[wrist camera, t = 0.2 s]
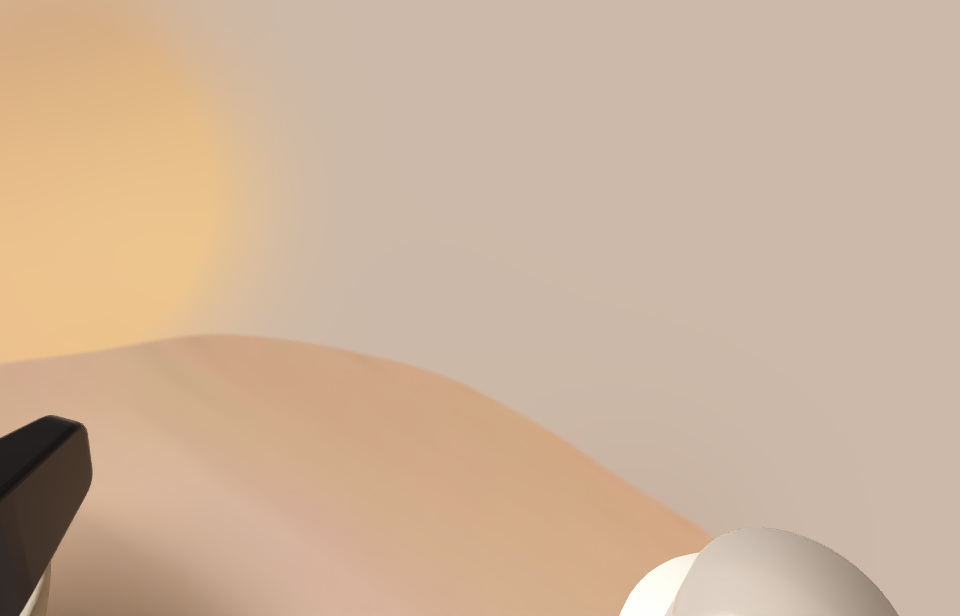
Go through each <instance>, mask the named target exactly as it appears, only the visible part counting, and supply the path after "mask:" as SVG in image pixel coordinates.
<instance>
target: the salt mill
mask: <svg viewBox="0 0 960 616" xmlns="http://www.w3.org/2000/svg"><path fill="white" fill-rule="evenodd" d="M619 616H898V614H897V612H896V611H895V609H894V608H893V607H892V605H891V603H890V602H889V601H888V599H887V598H886V597H885V596H884V594H883V593H882V592H881V591H880V589H879V588H878V587H877V586H876V585H875V584H874V583H873V582H872V581H871V580H870V579H869V578H868V577H867V576H866V575H865V574H864V573H863V572H862V571H860V570H859V569H858V568H857V567H856V566H855V565H853V564H852V563H851V562H849V561H848V560H847V559H845V558H844V557H842V556H841V555H839V554H838V553H836V552H834V551H833V550H831V549H830V548H828V547H826V546H824V545H822V544H820V543H818V542H816V541H814V540H811V539H809V538H806V537H804V536H801V535H798V534H794V533H791V532H788V531H783V530H778V529H770V528H747V529H739V530H736V531H732V532H728V533H726V534H724V535H722V536H719V537H717V538H716V539H715V540H713V541H712V542H710V543H709V544H708V545H707V546H706V547H705V548H704V549H703V550H702V551H701V552H700V553H694V554H688V555H684V556H681V557H678V558H674V559H672V560H670V561H668V562H666V563H663V564H661V565H660V566H658V567H657V568H655V569H654V570H652V571H651V572H649V573H648V574H647V575H646V576H645V577H644V578H643V579H642V580H641V581H640V582H639V583H638V584H637V586H636V587H635V588H634V590H633V591H632V592H631V594H630V595H629V597H628V599H627V601H626V603H625V605H624V607H623V609H622V611H621V613H620V615H619Z"/></svg>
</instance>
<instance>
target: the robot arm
mask: <svg viewBox="0 0 960 616" xmlns="http://www.w3.org/2000/svg"><path fill="white" fill-rule="evenodd" d="M91 481H92V463H91V455H90V448H89V440H88V433H87V429H86V428H85V426H84V425H83V424H82V423H80V422H77V421H73V420H70V419H66V418H63V417H59V416H54V415H48V416H45V417H42V418H39V419H37V420H35V421H33V422H31V423H29V424H27V425H25V426H23V427H21V428H19V429H17V430H15V431H13V432H11V433H9V434H7V435H5V436H3V437H1V438H0V616H20V614H21V613H22V611H23V610H24V608H25V606H26V604H27V603H28V601H29V599H30V597H31V596H32V594H33V592H34V590H35V589H36V587H37V585H38V583H39V581H40V579H41V577H42V576H43V574H44V572H45V570H46V568H47V566H48V565H49V563H50V561H51V559H52V557H53V555H54V554H55V552H56V550H57V548H58V546H59V544H60V542H61V541H62V539H63V537H64V535H65V533H66V531H67V530H68V528H69V526H70V524H71V522H72V520H73V518H74V517H75V515H76V513H77V511H78V509H79V507H80V506H81V504H82V502H83V500H84V498H85V496H86V494H87V492H88V490H89V488H90V485H91Z"/></svg>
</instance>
